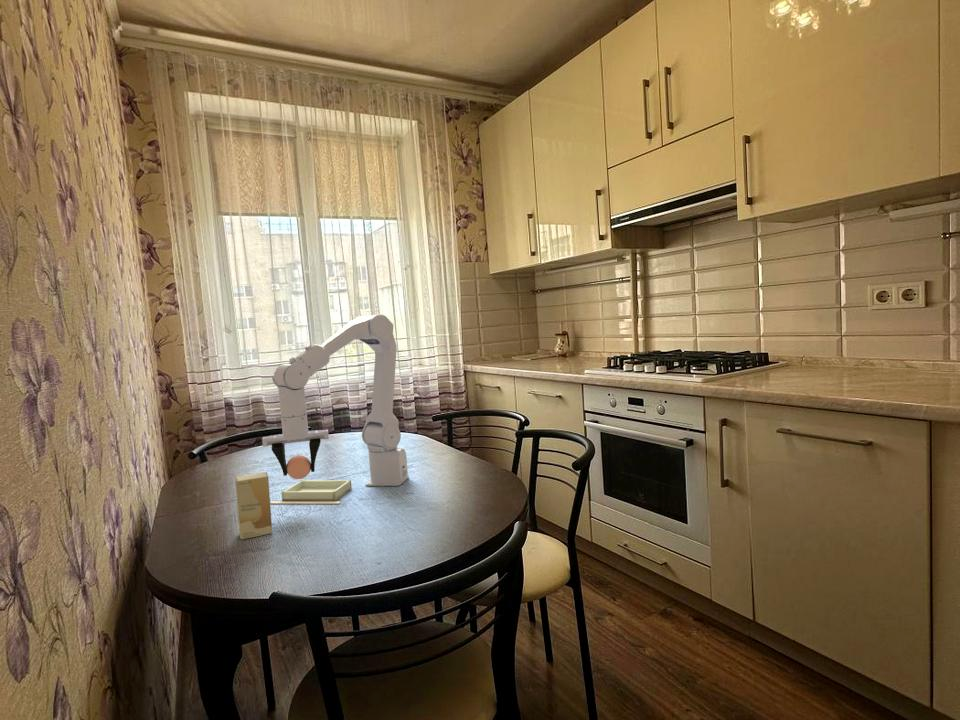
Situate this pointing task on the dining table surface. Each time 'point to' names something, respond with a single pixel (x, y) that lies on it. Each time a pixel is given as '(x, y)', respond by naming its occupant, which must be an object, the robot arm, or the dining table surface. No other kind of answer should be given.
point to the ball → (298, 467)
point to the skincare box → (253, 505)
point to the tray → (316, 490)
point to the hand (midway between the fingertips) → (299, 472)
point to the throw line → (305, 502)
